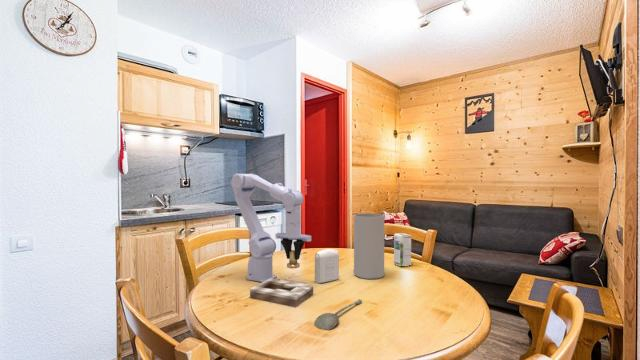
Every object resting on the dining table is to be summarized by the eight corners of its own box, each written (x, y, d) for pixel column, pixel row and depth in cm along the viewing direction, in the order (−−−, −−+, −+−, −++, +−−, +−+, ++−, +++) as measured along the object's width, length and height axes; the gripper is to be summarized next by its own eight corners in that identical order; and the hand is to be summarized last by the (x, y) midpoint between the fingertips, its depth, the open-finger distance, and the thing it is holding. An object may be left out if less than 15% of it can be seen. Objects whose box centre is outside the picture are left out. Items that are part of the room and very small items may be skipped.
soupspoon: (309, 329, 86) (328, 338, 82) (309, 317, 85) (328, 325, 81) (352, 301, 103) (369, 307, 99) (352, 291, 103) (369, 297, 98)
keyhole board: (250, 297, 105) (250, 288, 105) (270, 286, 116) (270, 278, 116) (296, 307, 97) (296, 297, 97) (313, 294, 108) (313, 285, 108)
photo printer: (334, 276, 127) (334, 246, 127) (340, 279, 123) (340, 248, 123) (313, 281, 121) (312, 250, 121) (319, 284, 118) (319, 252, 118)
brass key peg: (284, 267, 116) (284, 251, 116) (291, 264, 121) (290, 248, 121) (295, 269, 114) (295, 252, 114) (301, 265, 119) (301, 250, 119)
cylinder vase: (382, 270, 135) (382, 213, 135) (385, 280, 123) (385, 217, 122) (353, 269, 136) (353, 213, 136) (354, 279, 124) (354, 216, 124)
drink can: (393, 264, 145) (393, 233, 144) (403, 263, 147) (403, 232, 147) (401, 267, 139) (401, 235, 139) (411, 266, 142) (411, 234, 142)
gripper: (314, 222, 118) (314, 258, 118) (282, 220, 124) (282, 254, 124) (306, 225, 111) (306, 263, 112) (272, 222, 118) (272, 258, 118)
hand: (293, 258), depth 117 cm, fingers closed on brass key peg, 3 cm apart
